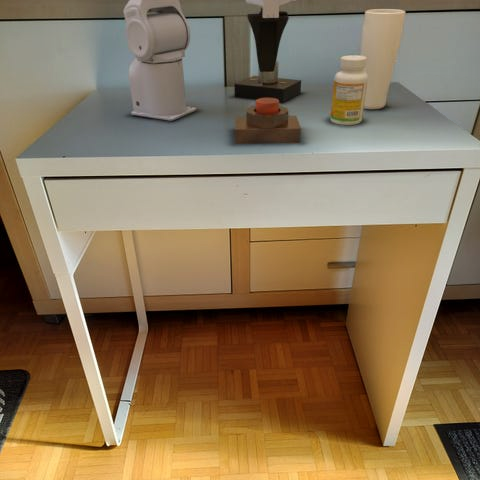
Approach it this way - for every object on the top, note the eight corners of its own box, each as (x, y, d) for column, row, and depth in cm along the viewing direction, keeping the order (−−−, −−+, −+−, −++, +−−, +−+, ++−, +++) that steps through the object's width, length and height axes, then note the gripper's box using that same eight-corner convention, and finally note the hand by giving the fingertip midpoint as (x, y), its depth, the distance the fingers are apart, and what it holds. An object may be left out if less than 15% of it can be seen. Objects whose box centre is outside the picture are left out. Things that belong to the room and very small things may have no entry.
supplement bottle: (339, 115, 82) (347, 53, 75) (367, 120, 79) (376, 56, 73) (324, 122, 78) (330, 58, 72) (352, 127, 76) (360, 61, 70)
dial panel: (234, 97, 93) (234, 82, 91) (254, 88, 99) (254, 74, 97) (283, 103, 89) (283, 88, 87) (300, 93, 94) (301, 79, 93)
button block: (235, 144, 70) (235, 116, 68) (235, 130, 76) (235, 104, 73) (300, 142, 70) (301, 115, 68) (295, 129, 76) (297, 103, 73)
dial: (272, 84, 90) (273, 62, 88) (254, 82, 92) (254, 60, 89) (281, 80, 93) (282, 58, 90) (263, 78, 94) (264, 57, 92)
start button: (256, 116, 69) (256, 103, 68) (255, 109, 72) (255, 97, 71) (279, 115, 69) (279, 103, 68) (277, 109, 72) (278, 97, 71)
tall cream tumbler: (387, 112, 82) (405, 13, 73) (349, 109, 84) (362, 12, 75) (390, 103, 87) (407, 9, 78) (354, 100, 89) (367, 8, 79)
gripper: (306, -47, 53) (298, 81, 62) (294, -48, 64) (289, 61, 73) (246, -46, 53) (246, 82, 62) (244, -47, 64) (245, 61, 73)
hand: (266, 70), depth 67 cm, fingers closed
